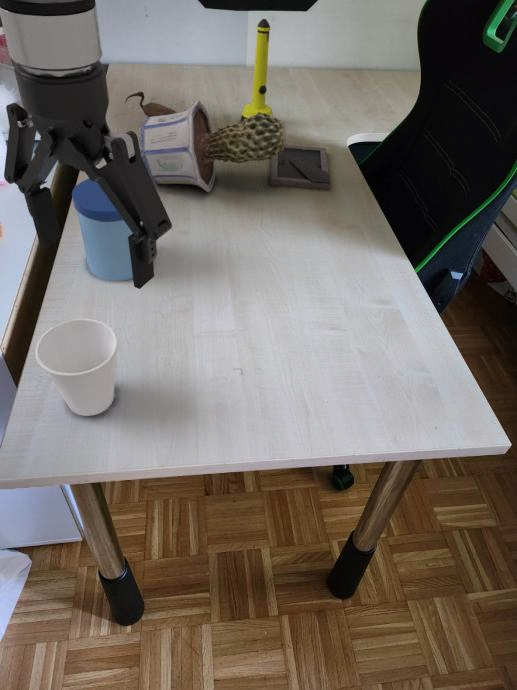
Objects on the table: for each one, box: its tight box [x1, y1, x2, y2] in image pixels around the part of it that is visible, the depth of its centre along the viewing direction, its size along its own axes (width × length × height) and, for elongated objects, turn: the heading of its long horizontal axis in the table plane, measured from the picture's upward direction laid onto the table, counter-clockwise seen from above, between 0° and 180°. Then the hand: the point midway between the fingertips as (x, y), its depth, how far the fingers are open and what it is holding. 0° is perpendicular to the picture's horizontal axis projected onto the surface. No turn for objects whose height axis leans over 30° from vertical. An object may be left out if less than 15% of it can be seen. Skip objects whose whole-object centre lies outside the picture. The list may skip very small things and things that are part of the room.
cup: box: [34, 317, 119, 417], centre depth 68 cm, size 10×10×11 cm
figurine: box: [125, 91, 178, 118], centre depth 131 cm, size 14×4×9 cm, turn 95°
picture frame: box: [270, 144, 331, 191], centre depth 123 cm, size 13×2×18 cm
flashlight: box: [240, 18, 274, 122], centre depth 130 cm, size 25×9×9 cm
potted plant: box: [138, 100, 286, 193], centre depth 109 cm, size 18×18×30 cm
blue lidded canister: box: [71, 178, 143, 282], centre depth 89 cm, size 12×12×14 cm
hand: (96, 261), depth 60 cm, fingers open, 13 cm apart
